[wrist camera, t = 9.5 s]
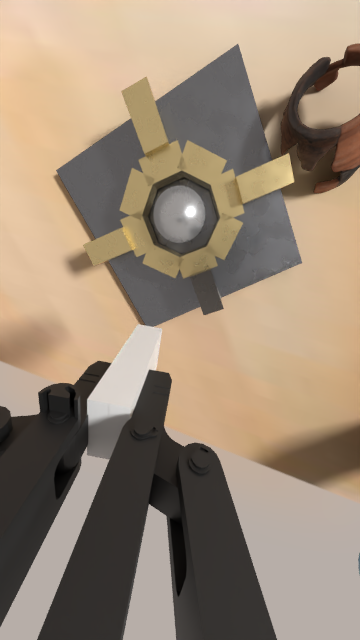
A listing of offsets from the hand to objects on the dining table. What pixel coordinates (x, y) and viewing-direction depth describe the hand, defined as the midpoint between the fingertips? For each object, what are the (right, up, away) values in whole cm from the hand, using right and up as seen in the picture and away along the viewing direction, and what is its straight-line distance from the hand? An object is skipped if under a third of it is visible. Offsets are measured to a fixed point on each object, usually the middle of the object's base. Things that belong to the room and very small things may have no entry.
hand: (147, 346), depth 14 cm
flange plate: (+2, +14, +14) cm, 20 cm away
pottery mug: (+18, +21, +10) cm, 29 cm away
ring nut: (+2, +14, +12) cm, 18 cm away
